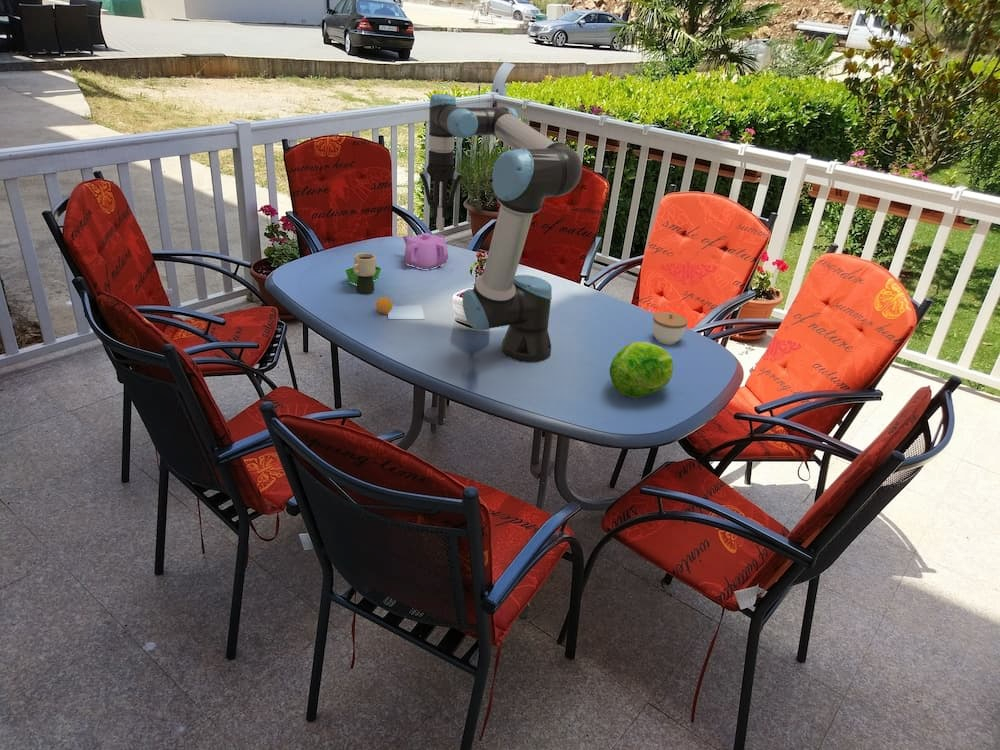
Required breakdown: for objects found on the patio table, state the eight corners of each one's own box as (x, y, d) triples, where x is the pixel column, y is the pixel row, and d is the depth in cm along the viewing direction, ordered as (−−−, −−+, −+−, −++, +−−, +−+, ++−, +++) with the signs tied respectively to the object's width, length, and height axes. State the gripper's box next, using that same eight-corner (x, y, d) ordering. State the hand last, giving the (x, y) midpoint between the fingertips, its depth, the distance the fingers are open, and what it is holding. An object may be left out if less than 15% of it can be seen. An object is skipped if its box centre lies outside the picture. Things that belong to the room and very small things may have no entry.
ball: (371, 311, 231) (385, 319, 233) (378, 303, 227) (393, 311, 229) (375, 299, 234) (390, 306, 236) (382, 290, 230) (397, 298, 232)
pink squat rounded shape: (406, 271, 268) (407, 240, 263) (402, 257, 283) (402, 227, 277) (450, 271, 272) (452, 240, 266) (444, 257, 287) (445, 227, 281)
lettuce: (630, 364, 209) (676, 389, 202) (590, 390, 193) (639, 418, 186) (644, 321, 201) (693, 345, 194) (603, 345, 185) (655, 373, 178)
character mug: (368, 284, 254) (367, 250, 247) (383, 289, 250) (383, 254, 244) (347, 293, 245) (345, 257, 239) (362, 298, 242) (361, 262, 236)
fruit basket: (367, 276, 262) (366, 246, 256) (384, 282, 257) (384, 252, 252) (344, 283, 253) (343, 253, 248) (362, 290, 249) (361, 259, 244)
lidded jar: (661, 330, 236) (666, 304, 231) (689, 342, 229) (695, 315, 225) (643, 338, 229) (647, 312, 224) (670, 350, 222) (676, 323, 218)
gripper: (461, 148, 215) (458, 224, 226) (418, 146, 212) (417, 223, 223) (464, 153, 208) (461, 231, 219) (420, 151, 206) (419, 230, 217)
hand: (438, 227), depth 221 cm, fingers closed
